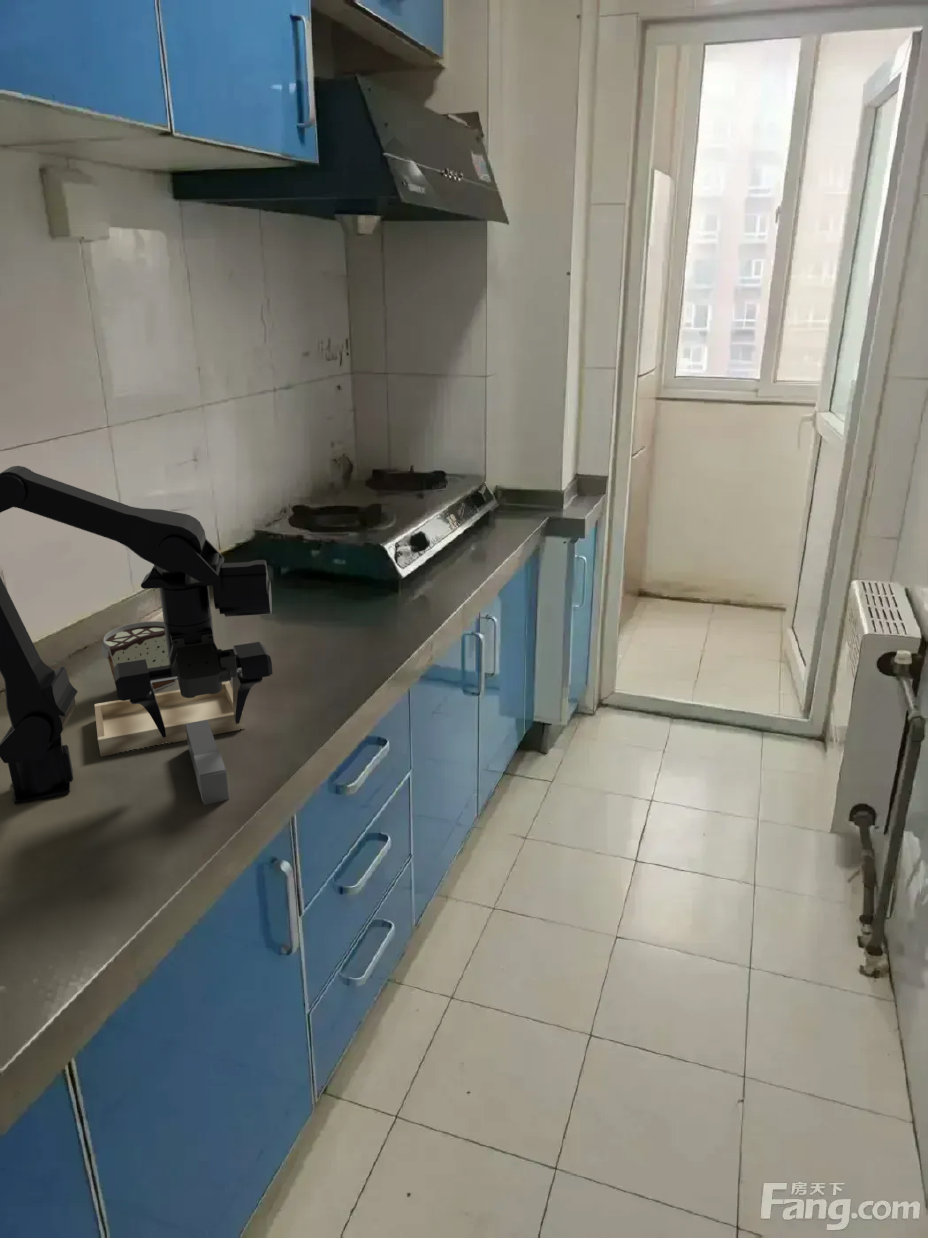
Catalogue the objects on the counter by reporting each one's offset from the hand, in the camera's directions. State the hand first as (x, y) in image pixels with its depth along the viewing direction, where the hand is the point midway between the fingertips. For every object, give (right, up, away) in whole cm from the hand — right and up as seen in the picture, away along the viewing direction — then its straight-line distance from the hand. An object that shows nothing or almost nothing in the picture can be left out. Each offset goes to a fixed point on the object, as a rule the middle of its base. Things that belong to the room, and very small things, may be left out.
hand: (201, 729), depth 111 cm
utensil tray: (-9, -1, +15) cm, 18 cm away
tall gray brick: (0, -6, +2) cm, 7 cm away
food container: (-18, +3, +27) cm, 32 cm away
